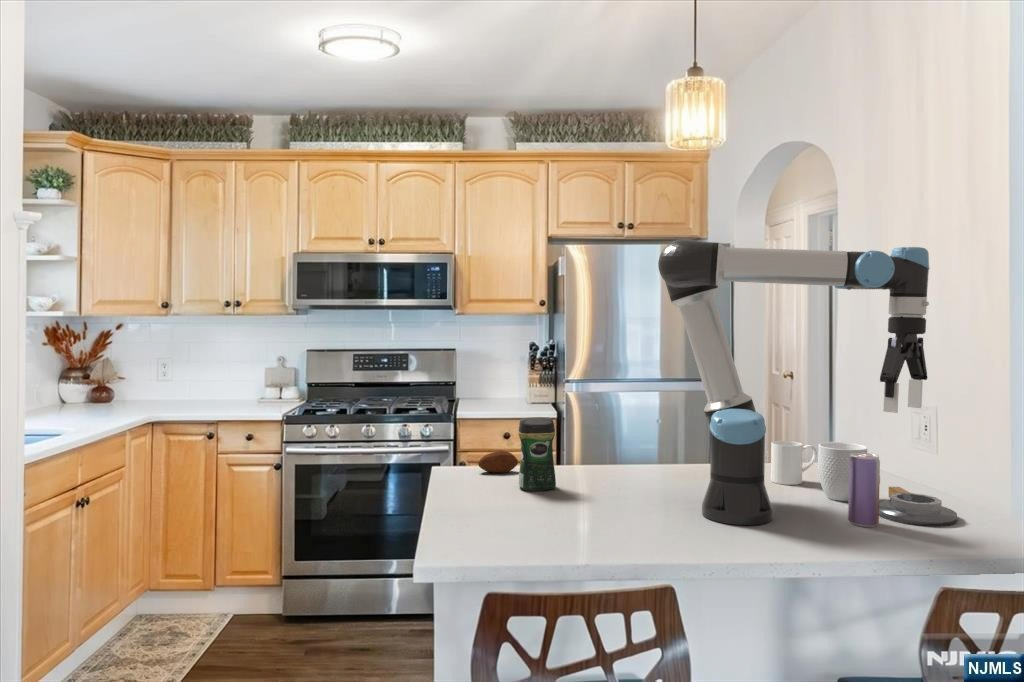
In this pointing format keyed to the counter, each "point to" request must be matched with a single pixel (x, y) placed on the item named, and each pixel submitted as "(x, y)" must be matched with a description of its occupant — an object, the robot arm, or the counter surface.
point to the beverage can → (864, 489)
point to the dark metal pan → (916, 509)
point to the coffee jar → (536, 454)
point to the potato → (498, 462)
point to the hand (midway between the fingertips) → (902, 409)
